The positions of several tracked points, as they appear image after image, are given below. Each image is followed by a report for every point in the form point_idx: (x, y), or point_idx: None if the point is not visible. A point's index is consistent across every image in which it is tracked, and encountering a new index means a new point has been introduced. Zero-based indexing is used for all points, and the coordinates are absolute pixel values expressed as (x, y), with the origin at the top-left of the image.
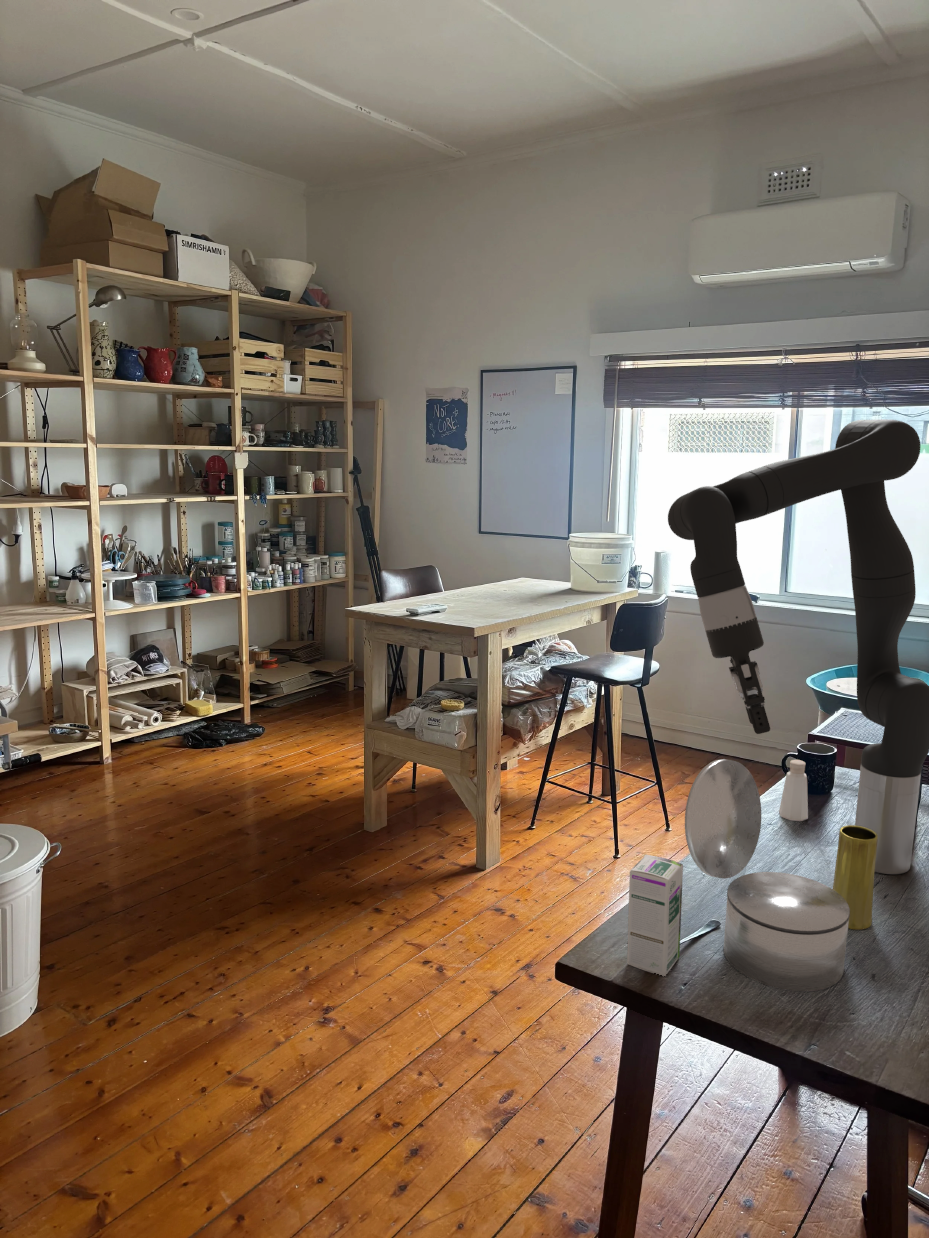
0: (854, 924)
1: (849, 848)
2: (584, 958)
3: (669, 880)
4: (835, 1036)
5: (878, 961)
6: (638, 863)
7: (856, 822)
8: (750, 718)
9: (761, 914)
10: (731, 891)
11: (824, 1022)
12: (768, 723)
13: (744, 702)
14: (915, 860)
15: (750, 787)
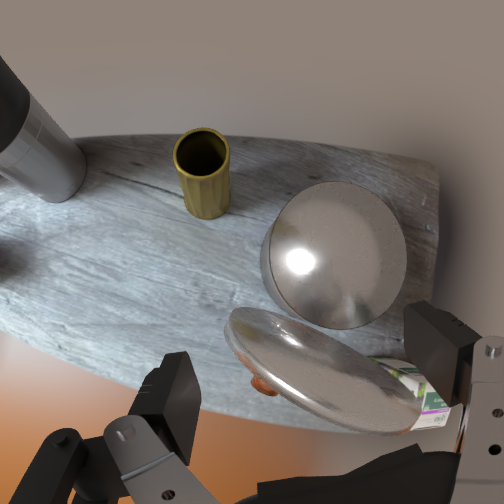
0: (229, 191)
1: (225, 170)
2: None
3: None
4: (411, 211)
5: (283, 171)
6: (425, 427)
7: (40, 186)
8: (198, 405)
9: (391, 279)
10: (354, 323)
11: (399, 219)
12: (434, 309)
13: (189, 461)
14: None
15: (257, 339)
